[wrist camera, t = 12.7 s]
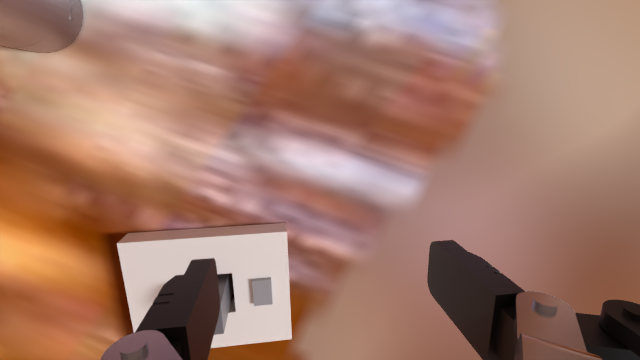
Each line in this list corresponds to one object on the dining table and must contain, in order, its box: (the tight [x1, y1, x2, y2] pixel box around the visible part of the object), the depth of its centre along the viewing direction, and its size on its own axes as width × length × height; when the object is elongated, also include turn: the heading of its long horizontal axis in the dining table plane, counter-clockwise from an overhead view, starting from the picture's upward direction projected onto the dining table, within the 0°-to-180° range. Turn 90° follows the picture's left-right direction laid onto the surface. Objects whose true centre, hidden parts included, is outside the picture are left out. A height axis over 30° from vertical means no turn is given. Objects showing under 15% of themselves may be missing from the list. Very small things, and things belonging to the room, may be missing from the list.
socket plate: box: [117, 223, 292, 348], centre depth 42 cm, size 20×16×4 cm
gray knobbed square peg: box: [214, 273, 233, 335], centre depth 39 cm, size 4×4×10 cm
